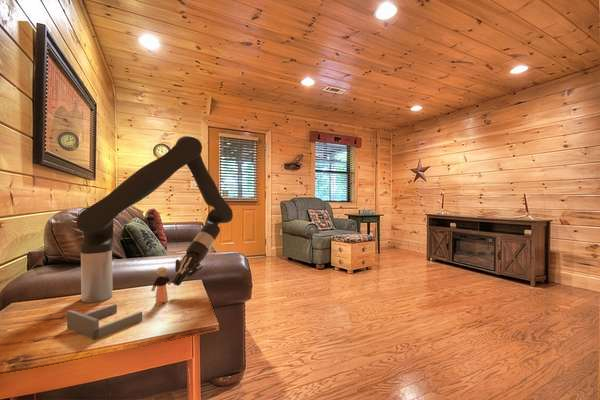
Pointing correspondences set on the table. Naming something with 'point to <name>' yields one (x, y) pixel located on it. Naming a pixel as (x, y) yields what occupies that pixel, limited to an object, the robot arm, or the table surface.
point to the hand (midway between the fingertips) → (175, 284)
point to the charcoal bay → (90, 322)
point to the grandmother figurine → (161, 286)
